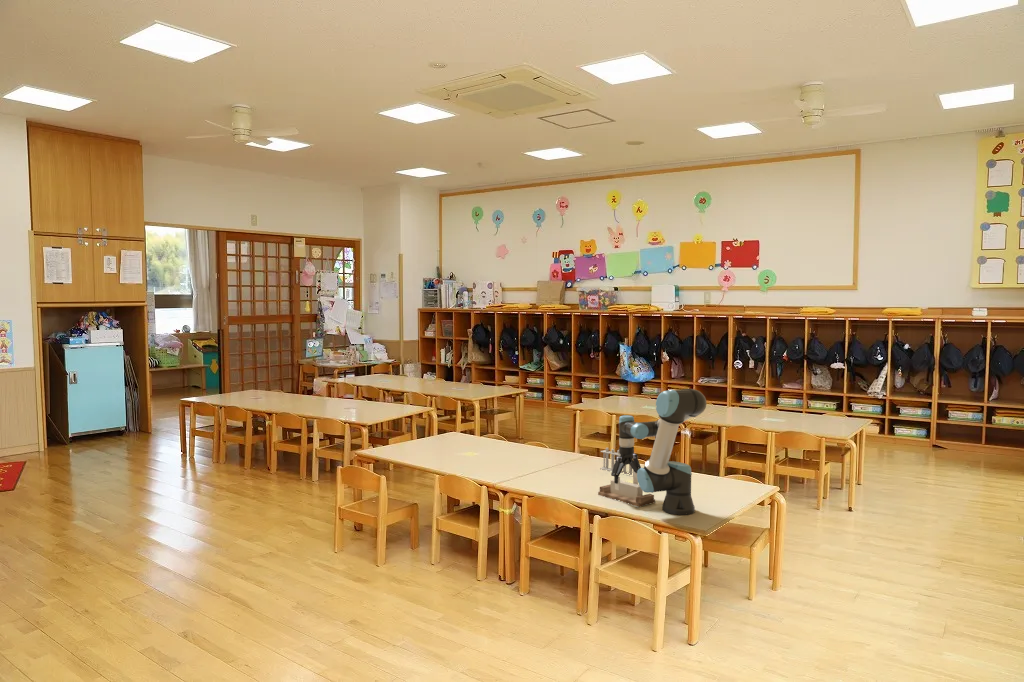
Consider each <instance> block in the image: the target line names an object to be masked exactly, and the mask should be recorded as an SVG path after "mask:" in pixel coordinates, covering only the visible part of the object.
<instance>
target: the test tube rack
mask: <svg viewBox="0 0 1024 682" xmlns="http://www.w3.org/2000/svg"><path fill="white" fill-rule="evenodd" d="M616 451H617V452H616ZM616 451H615V449H614V448H611V451H610V449H609V447H605V449H604V450H600V453H603V467H600V468H599V469H600V470H601V469H602V471H606V470H607V472H610V471H612V470H613V467H614V464H615V456H616V457H620V453H619V449H618V450H616ZM610 455H611V458H610V459H611V461H609V456H610ZM609 462H610V463H611V467H609ZM628 465H629V466H628V469H629V470H628V471H627V465H625V466H624V467H623V469H622V471H621V473H623V472H624V474H629V473H630V474H629V475H632V473H633V472H634V470H633V469H632V467H631V466H630V464H628ZM627 472H629V473H627ZM624 474H623V475H624Z"/></svg>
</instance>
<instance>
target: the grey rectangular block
mask: <svg viewBox="0 0 1024 682" xmlns="http://www.w3.org/2000/svg"><path fill="white" fill-rule="evenodd" d="M610 484H611V493H613V494H617V495H621V496H624V497H628V498H631V499H635V500H636V497H639V496H642V495H644V494H643V492H644V491H643V490H642V489H641V488H640V486H639V484H638V485H637V484H633V482H628V481H626V480H625V481H624V480H622V479H620V490H616V489H615V483H614V479H611V480H610Z"/></svg>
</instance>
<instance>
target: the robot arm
mask: <svg viewBox="0 0 1024 682" xmlns="http://www.w3.org/2000/svg"><path fill="white" fill-rule="evenodd" d="M655 406H656V407H655V410H656V413H657V414H658V417H659V419H657V420H655V421H653V420H651V421H639V422H638V421H635V417H634V416H633V415H627V414H626V415H624V414H623V415H621V416H619V419H618V440H619V441H618V442H619V443H618V445H619V447H618V450H619V453H620V457H617V456H615V459H614V467H613V470H612V472H611V474H610V475H611V476H612V477H614V478H613V480H614V483H615V489H616V490H620V480H621V477H620V475H621V474H620V473H621V471H623V467H624V466H625V465H626V466H627V465H629V464H630V466H631V467H632V473H633V476H632V483H633V484H637V485H639V486H640V488H641V489H642V490H643V492H644V493H646V494H651V493H652V494H653V493H658V492H666V493H665V497H664V500H663V503H662V504H661V505H662V510H661V511H663V512H664V513H667V514H670V515H675V514H678V515H677V516H688V515H692V514H695V512H696V511H695V510H696V509H695V505H694V501H693V498H692V476H693V473H692V467H691V466H690V465H689V464H687V463H684V462H680V461H673V460H672V461H671V460H670V458H671V455H672V452H673V448H674V444H675V442H676V437H677V434H678V430H679V427H680V425H682V424H683V423H685V422H686V421H687V420H689V419H691V418H696V417H698V416H700V415H701V414H702V413H704V411H705V410H706V409H707V399H706V396H705V395H704V394H703V393H702V392H701V391H700V390H697V389H694V388H688V389H669V390H663V391H661V392H659V394H658V396H657V398H656V400H655ZM650 437H654V438H655V439H654V442H653V445H652V446H653V447H652V450H651V453H650V457H649V459H647V460H646V461H645V462H644V465H643V467H641V464H640V461H639V459H638V458H639V456H638V454H636V453H635V447H634V446H635V439H637V440H644V439H645V438H650ZM633 470H634V472H633ZM687 514H688V515H687Z"/></svg>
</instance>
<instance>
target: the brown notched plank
mask: <svg viewBox="0 0 1024 682" xmlns="http://www.w3.org/2000/svg"><path fill="white" fill-rule="evenodd" d="M597 495H598V496H600V497H601V496H602V497H604V496H605V498H608V499H611V498H612V499H611V500H614V499H616V500H615V501H618V500H620V501H619V502H621V501H623V502H622V503H624V502H626V503H625V504H628V503H629V504H628V505H631V504H632V506H636V507H638V506H639V508H641V507H643V505H644V506H647V505H646V504H648V505H651V504H650V503H652V504H654V503H653V502H655V503H656V499H655V494H653V493H652V494H651V493H646V494H643V495H642V496H639V497H636V500H635V499H631V498H628V497H624V496H621V495H617V494H613V493H611V483H610V484H607V485H602V486H599V491H598V493H597ZM640 506H641V507H640Z"/></svg>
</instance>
